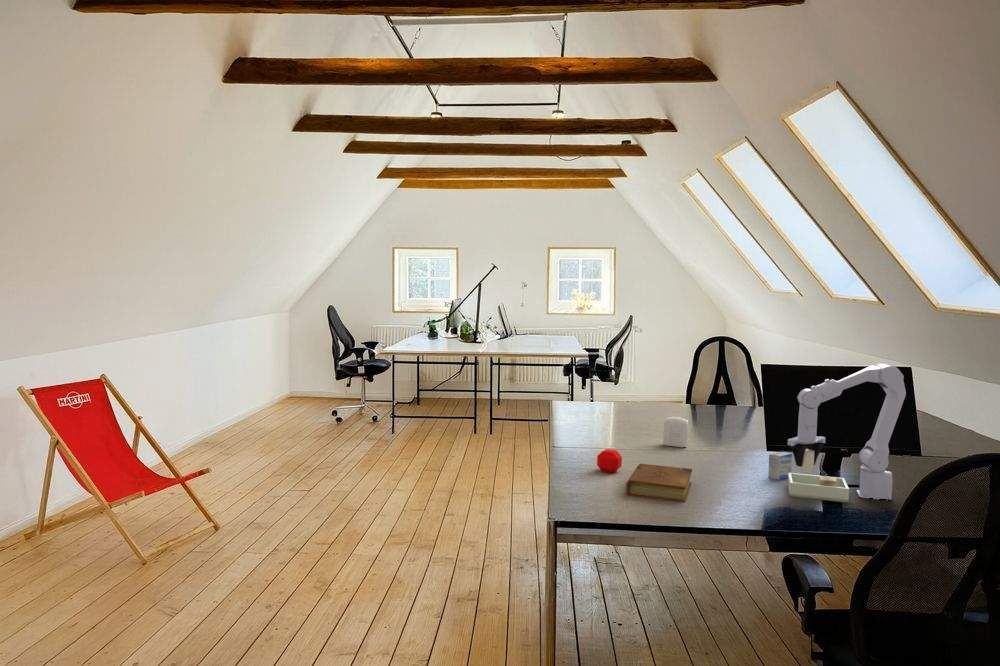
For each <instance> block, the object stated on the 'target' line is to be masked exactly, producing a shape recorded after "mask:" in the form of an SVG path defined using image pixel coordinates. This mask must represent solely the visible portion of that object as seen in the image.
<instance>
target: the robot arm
mask: <svg viewBox="0 0 1000 666" xmlns="http://www.w3.org/2000/svg"><path fill="white" fill-rule="evenodd" d="M904 378H905V377H904V374H903V373H902V372H901V370H900V369H899V368H898V367H896V366H893V365H888V364H886V363H884V362H877V363H876V364H874V365H869V366H867V367H865V368H862V369H861V370H859V371H857V372H855V373H852V374H849V375H848V376H845V377H843V378H841V379H839V380H835V379H829V378H826V379H824V382H822V383H820V384H817V385H812V386H810V388H804V389H802V390H800V392H799V393H798V395H797V396H796V398H797V401H798V403H799V411H798V422H797V423H798V424H797V425H798V426H797V436H795V437H792V438H788V439H787V445H788V446H789V448H790V449H791V452H792V455H793V458H794V461H795V462H794V463H795V466H800V467H802V465H803V457H804V453H805V450H806V449H810V450H814V451H815V452H814V466H815V465H816V462H817V460H818V457H819V455H820V453H821V451H822V450H823V448H824V444H826V437H825V436H821V435H819V436H817V430H818V429H817V428H818V409H819V406H820V405H821V404H822V403H824V402H827V401H829V400H831V399H834V398H836V397H839V396H841V394H842V392H843V390H846V389H850V388H852V387H855V386H857V385H860V384H863V383H866V382H870V383H876V384H879V385H880V387H882V389H883V391H884V392H885V398H884V401H883V404H882V407H881V409H880V412H879V415H878V418H877V420H876V423H875V427H874V429H873V432H872V435H871V437H870V439H869V440H868V441H866V443H865V446H863V448H862V449H861V450H860V451H859V454H858V458H859V460H860V462H861V466H860V476H859V477H860V478H859V479H860V480H859V489H856V493H857V495H858V497H859V498H860V497H861V498H862V499H869V498H873V499H872V500H879V499H888V498H889V499H890V500H891V499H892V497H893V496H892V494H893V482H894V481H893V473H892V471H889V470H888V471H887V470H886V469H887V468H888V466H889V462H890V461H889V455H890V449H889V443H890V440H891V437H892V435H893V432H894V429H895V426H896V423H897V420H898V418H899V416H900V415H899V414H900V412H901V410H902V406H903V404H904V401H905V398H906V396H907V391H906V386H905V382H904ZM803 445H806V447H805V446H803Z"/></svg>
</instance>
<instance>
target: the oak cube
mask: <svg viewBox="0 0 1000 666" xmlns="http://www.w3.org/2000/svg"><path fill="white" fill-rule="evenodd" d="M818 476H819V485H822V486H832V487H837V480H836V478H835V476H828V477H826V476H827V475H818Z"/></svg>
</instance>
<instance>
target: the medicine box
mask: <svg viewBox="0 0 1000 666" xmlns="http://www.w3.org/2000/svg"><path fill="white" fill-rule="evenodd" d="M792 466H793V453H790V452H785V451H780V452H775V453H771V454H769V455H768V471H767V472H768V473H767V474H768V475H767V477H768V478H769V477H770V479H773V478H774V480H777V479H778V481H781V480H785V479H788V478H787V477H788V473H792V470H793V469H792ZM784 478H785V479H784ZM780 479H781V480H780Z"/></svg>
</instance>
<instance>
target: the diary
mask: <svg viewBox="0 0 1000 666" xmlns="http://www.w3.org/2000/svg"><path fill="white" fill-rule="evenodd" d="M692 472H693V468H685V467H676V466H667V465H656V464H647V463H639V464H638V465H637V466H636V468H635V469H634V471H633V473H632V474H631V475H630V477H629V478H628V480H627V482H626V492H625V494H626V496H630V497H638V498H643V499H645V498H647V499H656V500H662V501H671V502H679V503H686V501H687V499H688V498H687V497H688V495H689V492H690V488H691V486H692V481H691V479H690V478H691V475H692Z"/></svg>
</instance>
